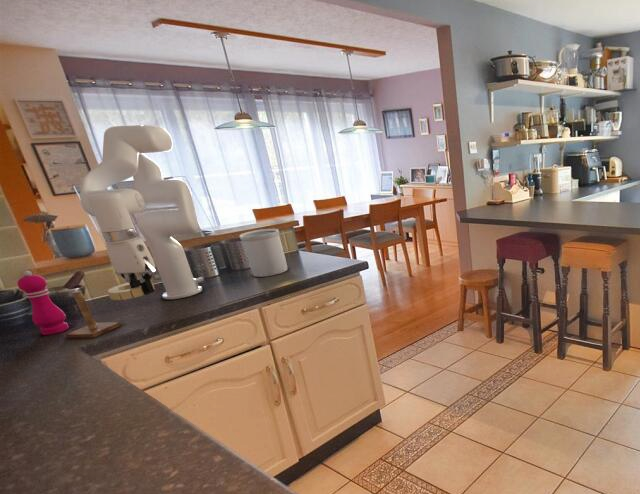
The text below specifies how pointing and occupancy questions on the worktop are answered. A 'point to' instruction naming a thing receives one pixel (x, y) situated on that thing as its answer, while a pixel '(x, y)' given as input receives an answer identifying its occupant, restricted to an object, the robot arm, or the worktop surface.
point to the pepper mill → (42, 305)
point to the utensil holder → (264, 252)
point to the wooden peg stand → (89, 321)
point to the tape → (125, 292)
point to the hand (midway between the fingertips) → (144, 292)
